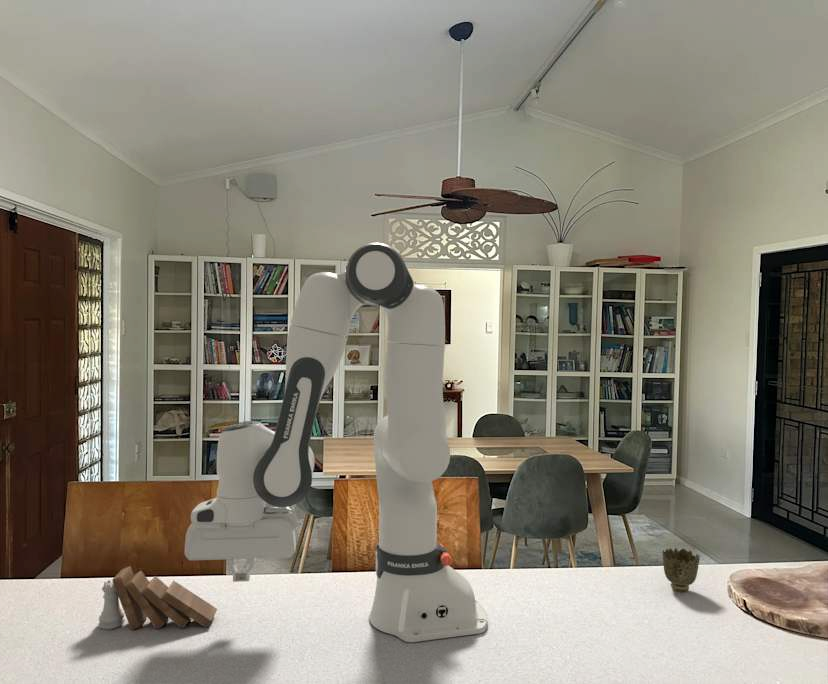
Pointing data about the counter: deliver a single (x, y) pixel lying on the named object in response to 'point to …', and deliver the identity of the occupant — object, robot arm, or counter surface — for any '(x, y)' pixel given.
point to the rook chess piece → (110, 608)
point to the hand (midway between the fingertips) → (241, 580)
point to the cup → (680, 568)
